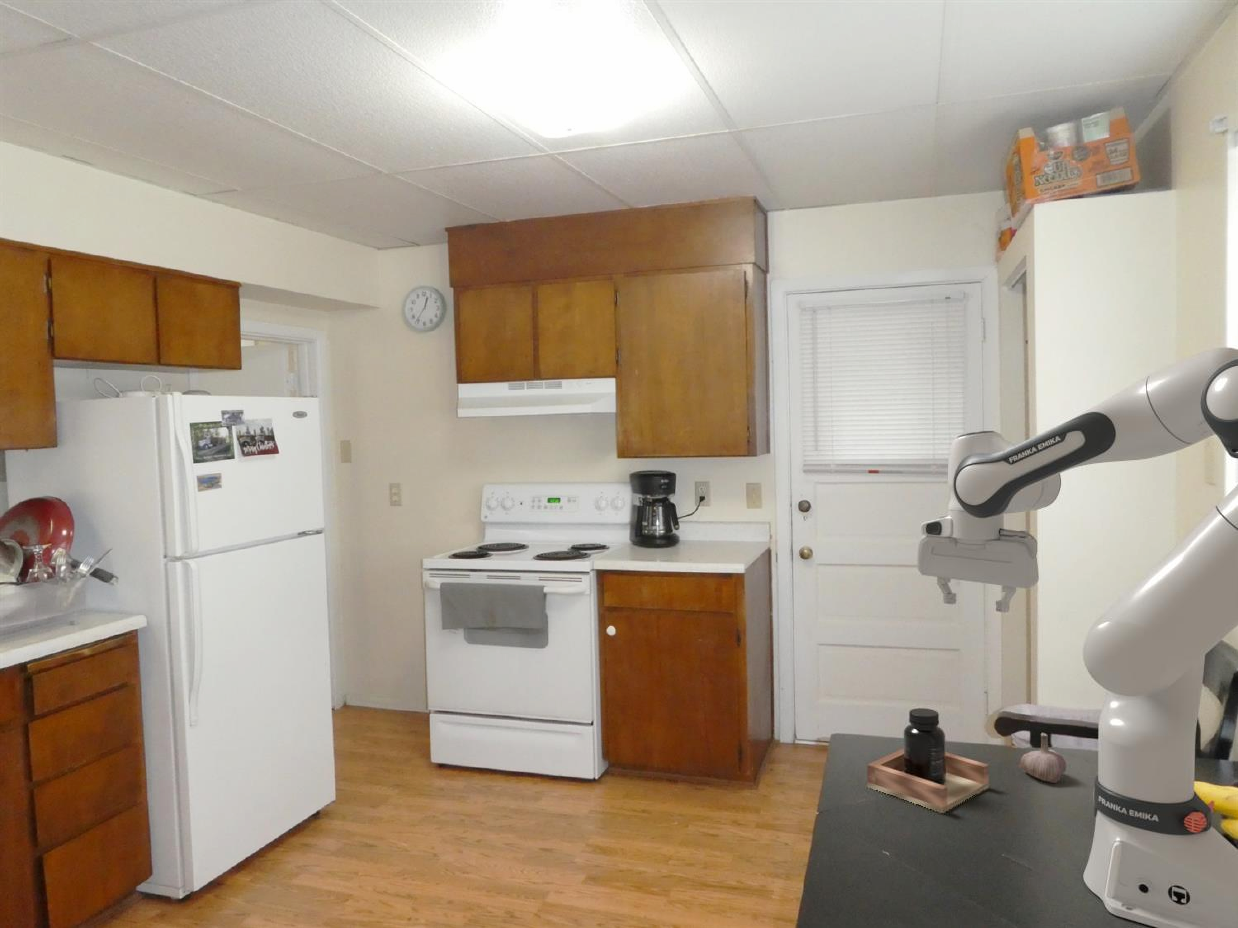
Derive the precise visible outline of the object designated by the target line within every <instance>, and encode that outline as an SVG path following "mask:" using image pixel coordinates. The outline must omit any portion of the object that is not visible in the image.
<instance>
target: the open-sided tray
mask: <svg viewBox="0 0 1238 928" xmlns="http://www.w3.org/2000/svg"><path fill="white" fill-rule="evenodd" d="M866 766H867V769H866V775H867V776H866V777H867V780H866V782H867V785H866V786H867V787H868V789H870V788H871V790H873V791H876V790H878V791H877V792H879V791H881V792H880V793H882V792H884V793H886V794H885V795H887V794H890V795H893V796H896V797H898V798H897V799H899V798H900V799H899V800H901V799H904V800H907V801H909V802H908V803H910V802H912V803H911V804H913V803H914V804H913V805H916V804H919V805H921V806H923V807H922V808H924V807H926V808H925V809H927V808H928V809H927V810H930V809H932V810H931V811H933V810H934V812H936V811H937V812H936V813H938V812H939V814H941V813H943V814H945V813H946V811H947V812H948V811H950V810H953V807H954V806H955V807H957V806H958V804H959V805H961V804H963V803H964V802H966V801H967V800H966V799H968V800H970V799H971V798H973V797H974V796H973V795H975V794H977V795H978V794H981V793H982V792H984V791H986V790H988V789H989V786H990V785H989V780H990V779H989V777H990V775H989V774H990V773H989V771H990V768H989V767H990V766H989V764H987V763H985V762H980V761H977V760H974V759H970V758H968V757H967V758H966V757H962V756H960V755H957V754H953V753H951V752H950V753H949V752H947V751H946V782H945V783H944V784H943V785H940V784H937V783H934V782H931V781H928V780H925V779H922V778H919V777H916V776H912V775H909V774H906V773H904V747H903V748H900V749H899V750H897V751H893V753H890V754H888V755H886V756H884V757H881V758H879V759H877V760H874V761H872V762H871V763H868V764H867V765H866ZM867 787H866V788H867ZM983 790H984V791H983ZM981 791H982V792H981ZM884 793H883V794H884ZM890 795H889V796H890ZM893 796H892V797H893ZM972 796H973V797H972ZM975 796H976V795H975ZM896 797H895V798H896ZM970 797H971V798H970ZM969 798H970V799H969ZM904 800H903V801H904ZM965 800H966V801H965ZM907 801H906V802H907ZM963 801H964V802H963ZM962 802H963V803H962ZM960 803H961V804H960ZM956 805H957V806H956ZM921 806H920V807H921ZM955 807H954V808H955ZM949 809H950V810H949Z"/></svg>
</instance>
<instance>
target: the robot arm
mask: <svg viewBox="0 0 1238 928" xmlns="http://www.w3.org/2000/svg"><path fill="white" fill-rule="evenodd" d="M1214 435H1215V436H1217V437H1218V439H1219V440H1220V442H1221V443H1222V445H1223V447H1224V449H1225V451H1226V453H1228V455H1229V456H1230V457H1231V458H1234V459H1236V460H1238V348H1233V347H1227V346H1226V347H1225V346H1224V347H1217V348H1213V349H1211V350H1207V351H1204V352H1201V353H1198V354H1195V355H1192V356H1189V357H1187V358H1186V357H1185V358H1184V359H1181V360H1178V361H1177V362H1175V363H1172V364H1170V365H1168V366H1165V367H1163V368H1162V369H1159V370H1157V371H1156V372H1153V373H1150V375H1148V376H1146V377H1144V378H1142V379H1140V380H1138V381H1136V382H1135V383H1133V384H1131V385H1130V386H1128V387H1125V388H1124V389H1123V390H1121V391H1119V392H1117V393H1115V394H1114V395H1112V396H1110V397H1109V398H1107V399H1106V400H1104V401H1102V402H1101V403H1099V404H1097V405H1094V406H1093V407H1091V408H1090V409H1087V410H1086V411H1084V412H1082V413H1080V414H1079V415H1077V416H1075V417H1074V418H1072V419H1069V420H1068V421H1065V422H1064V423H1061V424H1059V425H1057V426H1055V427H1053V428H1050V429H1048V430H1046V431H1043V432H1042V433H1040V434H1037V435H1035V436H1033V437H1030V438H1028V439H1026V440H1025V441H1023V442H1020V443H1018V444H1013V443H1012V442H1010V441H1008V440H1006V439H1005V438H1004V437H1003V435H1002V434H1000V433H999V432H997V431H994V430H982V431H981V430H980V431H975V432H969V433H964V434H960V435H958V436H957V437H955V438H954V439H953V440H952V443H951V444H950V448H949V449H950V450H949V452H948V463H947V464H948V465H947V467H948V468H947V486H948V488H949V494H950V495H949V496H950V497H949V502H948V507H947V515H946V516H941V517H938V518H937V519H932V520H929V521H925V522H923V523H921V524H920V533H921V534H922V535H923V536H922V537H921V538H920V539H919V542H918V547H917V556H916V557H917V561H916V562H917V565H916V567H917V571H918V572H919V573H920V574H921V576H925V577H926V576H927V577H935V578H936V581H937V583H936V584H937V586H938V587H939V589H940V591H941V593H942V595H943V596H942V597H943V603H944V604H947V605H955V604H956V603H957V593H955V592H952V589H951V587H950V585H949V584H950V583H951V580H957V581H965V582H973V583H981V584H988V585H995V586H996V585H997V586H1001V592H1002V593H1004V595H1003V596H1002V598H1001V599H1000V600H996V601H995V611H996V612H999V613H1008V612H1009V610H1010V601H1011V600H1012V598H1013V597H1014V595H1015V594H1016V593H1017V588H1019V589H1029V588H1032V587H1035V585H1037V584H1038V582H1039V580H1040V578H1039V577H1040V576H1039V565H1038V558H1037V554H1038V540H1037V539H1036V537H1035V536H1034V535H1032V534H1031V533H1029V532H1028V531H1027V530H1014V529H1006V528H1005V527H1004V524H1005V520H1004V517H1005V515H1007V514H1008V515H1009V514H1017V513H1023V512H1031V511H1032V512H1033V511H1037V510H1041V509H1044V508H1046V507H1048V506H1050V505H1052V504H1053V503H1054V502H1055V501H1056V500H1057V498H1058V496H1059V494H1060V490H1061V487H1062V477H1061V473H1064V472H1066V471H1069V470H1071V469H1075V468H1079V467H1083V466H1087V465H1094V464H1102V463H1114V462H1115V463H1117V462H1129V461H1139V460H1141V461H1142V460H1147V459H1152V458H1157V457H1160V456H1164V455H1168V454H1172V453H1175V452H1178V451H1181V450H1184V449H1185V448H1188V447H1191V446H1193V445H1195V444H1197V443H1200V442H1201V441H1204V440H1206V439H1208V438H1210V437H1212V436H1214ZM1237 626H1238V483H1237V485H1235V487H1234V488H1233V489H1232V490H1231V491H1230V492H1229V493H1228V494H1226V495H1225V497H1224V498H1222V499H1221V501H1219V503H1218V504H1216V505H1215V507H1213V508H1212V510H1210V511H1209V513H1208V514H1206V515H1205V517H1203V518H1202V520H1201V521H1200V522H1198V523H1197V525H1196V526H1195V527H1193V528H1192V530H1191V531H1190V532H1188V534H1187V535H1186V536H1184V537H1183V539H1182V540H1181V541H1180V542H1179V543H1178V544H1177V545H1175V547H1174V548H1173V549H1171V551H1170V552H1169V553H1168V554H1166V555H1165V556H1164V557H1163V558H1162V559H1160V561H1159V562H1157V563H1156V564H1155V565H1154V566H1152V568H1151V569H1150V570H1148V572H1147V573H1145V574H1144V575H1143V576H1142V577H1141V578H1140V579H1139V580H1137V582H1135V584H1133V586H1131V587H1130V588H1129V589H1128V590H1127V591H1126V592H1125V593H1124V594H1122V596H1121V597H1119V598H1118V600H1116V601H1115V602H1114V603H1113V604H1112V605H1111V606H1110V607H1109V608H1108V609H1106V611H1105V612H1103V614H1102V615H1100V617H1099V618H1097V620H1096V621H1095V622H1094V623H1093V624H1092V626H1091V627H1090V629H1089V631H1088V633H1087V634H1086V637H1085V640H1084V641H1083V645H1082V658H1083V663H1084V667H1085V668H1086V670H1087V672H1088V674H1089V676H1091V678H1092V679H1093V680H1094V681H1095V682H1096V683H1097V684H1098V685H1099V686H1101V687H1102V688H1103V689H1105V690H1106V691H1105V697H1104V701H1103V704H1102V705H1103V706H1102V710H1101V712H1100V715H1099V719H1098V738H1097V739H1098V741H1097V742H1098V747H1097V749H1098V751H1097V753H1098V755H1097V757H1098V759H1097V762H1098V763H1097V774H1096V776H1095V778H1094V787H1093V791H1092V792H1093V793H1092V802H1093V803H1092V805H1093V815H1094V817H1095V825H1094V826H1095V827H1094V834H1093V839H1092V844H1091V849H1090V850H1091V851H1090V853H1089V857H1088V861H1087V864H1086V867H1085V870H1084V872H1083V875H1082V876H1083V882H1084V883H1085V885H1086V886H1087V888H1088V889H1089V890H1091V892H1092V893H1094V894H1095V895H1096V896H1097V897H1099V898H1100V900H1101V901H1102V902H1103V904H1104V906H1105V909H1107V911H1108V912H1109V913H1111V914H1113V915H1114V916H1117V917H1120V918H1124V919H1127V920H1130V921H1134V922H1137V923H1141V924H1144V925H1147V926H1151V927H1155V928H1238V848H1237V847H1236V846H1234V845H1233V844H1232V843H1231V842H1230V841H1228V839H1226V838H1225V837H1224V836H1223V835H1222V834H1221V833H1219V832H1218V831H1217V830H1216V829H1215V828H1214V827H1213V826H1212V821H1213V820H1212V818H1213V817H1212V813H1213V812H1214V811H1215V800H1211V801H1210V802H1209V803H1208V804H1207V803H1206V802H1205V801H1204V800H1203V799H1202V798H1201V797H1200V796H1199V795H1198V793H1197V792H1196V791H1195V770H1196V769H1195V765H1196V764H1195V759H1196V732H1197V725H1198V724H1197V723H1198V718H1199V711H1200V704H1201V697H1202V689H1203V680H1204V672H1205V671H1204V669H1205V662H1206V660H1205V659H1206V655H1207V654H1208V652H1210V651H1211V650H1212V649H1213V648H1214V647H1215V646H1217V644H1218V643H1220V642H1221V641H1222V640H1223V639H1224V638H1226V637H1227V636H1228V635H1229V634H1230V633H1231V632H1232V631H1233V630H1234V629H1235V628H1237Z"/></svg>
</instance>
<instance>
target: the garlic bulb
mask: <svg viewBox="0 0 1238 928" xmlns="http://www.w3.org/2000/svg"><path fill="white" fill-rule="evenodd" d="M1048 738H1049V735H1048V734H1046V733H1044V732H1041V734H1040V750H1031V751H1029V752H1027V753H1025V754H1023V755H1022V756H1021V758H1020V762H1019V763H1020V768H1021V769H1022V771H1024V772H1025V773H1027V774H1028V775H1030V776H1032V777H1035V778H1037V779H1040V780H1042V781H1044V782H1049V783H1052V784H1057V783H1058V782H1059V781H1060V780H1061V776H1062V775H1063V774H1064V773H1065V772H1066V770H1067V763H1066V760H1065V759H1064V757H1063V756H1062V755H1061V754H1060V753H1059V752H1057V751H1055V750H1054V749H1049V742H1048V741H1049V739H1048Z"/></svg>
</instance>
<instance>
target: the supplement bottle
mask: <svg viewBox="0 0 1238 928" xmlns="http://www.w3.org/2000/svg"><path fill="white" fill-rule="evenodd" d="M908 716H909V717H908V722H909V724H908V725H907V726H906V727H905V728H904V730H903V748H904V773H906V774H909V775H912V776H916V777H919V778H922V779H925V780H928V781H931V782H934V783H937V784H940V785H943V784H944V783H945V782H946V752H947V751H946V750H947V749H946V747H947V745H946V733H945V731H944V730H943V729H942V727H940V726H939V725H940V718H939V712H938V711H936V710H934V709H931V708H923V707H919V708H913V709H911V710H909V715H908Z"/></svg>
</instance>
